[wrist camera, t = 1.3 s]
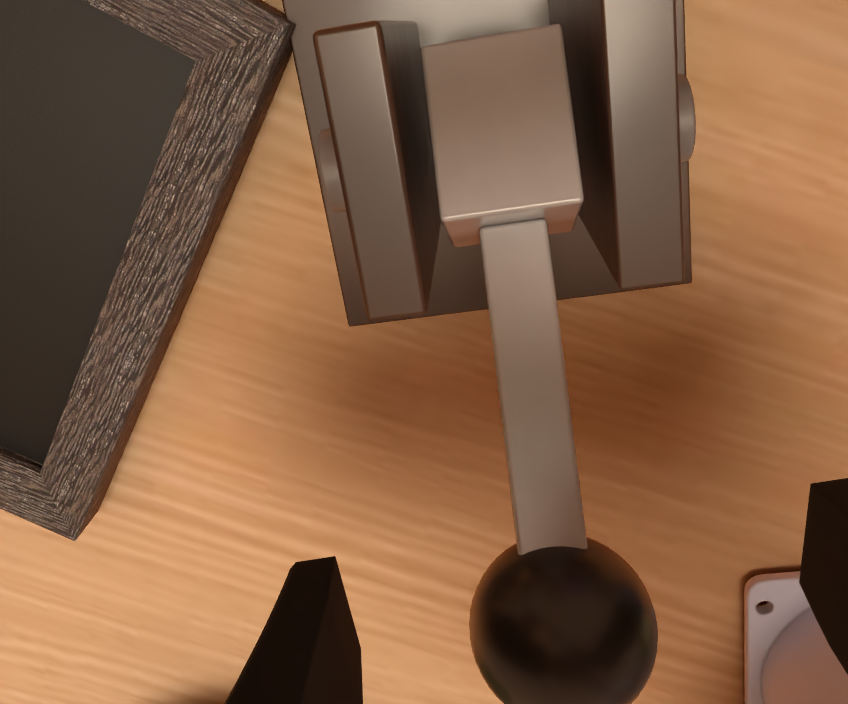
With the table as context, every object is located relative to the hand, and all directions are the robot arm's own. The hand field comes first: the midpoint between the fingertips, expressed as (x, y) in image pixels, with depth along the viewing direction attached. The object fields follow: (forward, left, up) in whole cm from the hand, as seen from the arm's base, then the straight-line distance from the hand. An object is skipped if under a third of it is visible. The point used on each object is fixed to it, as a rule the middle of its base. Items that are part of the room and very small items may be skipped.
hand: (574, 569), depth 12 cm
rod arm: (+2, 0, -3) cm, 4 cm away
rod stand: (+6, 0, -11) cm, 12 cm away
